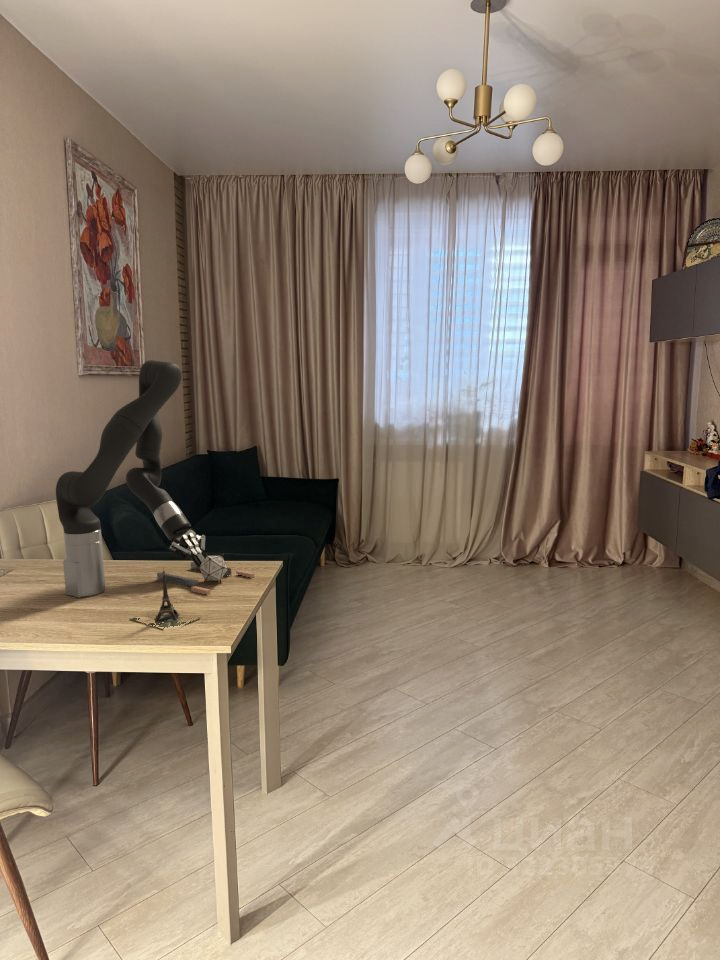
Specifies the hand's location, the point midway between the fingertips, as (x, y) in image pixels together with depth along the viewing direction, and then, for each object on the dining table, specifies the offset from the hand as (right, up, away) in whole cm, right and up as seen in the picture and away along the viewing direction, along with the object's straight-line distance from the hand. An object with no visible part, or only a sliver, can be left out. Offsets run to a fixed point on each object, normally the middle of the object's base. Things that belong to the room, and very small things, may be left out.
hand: (203, 566), depth 182 cm
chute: (-3, -4, +2) cm, 5 cm away
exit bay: (+7, -4, -4) cm, 9 cm away
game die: (+3, -4, -2) cm, 6 cm away
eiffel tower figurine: (-2, -9, -30) cm, 32 cm away
